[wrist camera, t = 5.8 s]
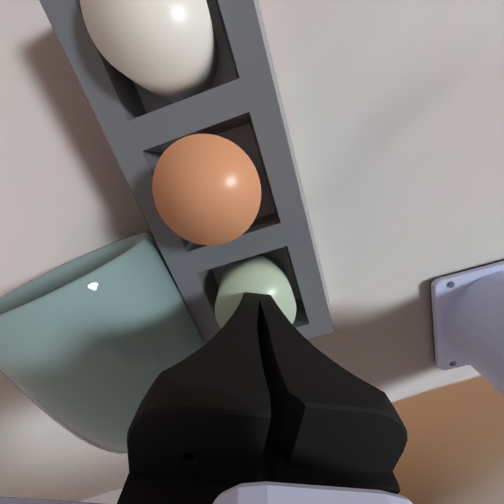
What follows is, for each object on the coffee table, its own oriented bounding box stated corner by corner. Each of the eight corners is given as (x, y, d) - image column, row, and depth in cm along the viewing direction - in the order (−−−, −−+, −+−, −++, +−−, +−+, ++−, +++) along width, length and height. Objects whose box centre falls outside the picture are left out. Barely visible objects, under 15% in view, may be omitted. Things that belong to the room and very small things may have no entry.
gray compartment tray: (236, -75, 10) (230, -187, 7) (327, 302, 17) (345, 335, 13) (65, 3, 11) (-11, -64, 8) (215, 332, 17) (207, 370, 14)
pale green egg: (277, 243, 13) (284, 264, 11) (294, 301, 15) (304, 333, 12) (212, 263, 14) (201, 287, 11) (234, 317, 15) (230, 352, 12)
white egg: (197, -27, 10) (175, -107, 7) (230, 85, 11) (223, 57, 8) (109, 12, 10) (52, -48, 7) (151, 115, 11) (118, 99, 8)
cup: (78, 508, 11) (-109, 359, 8) (136, 373, 19) (53, 266, 15) (229, 451, 11) (107, 272, 8) (228, 338, 18) (165, 220, 15)
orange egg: (244, 129, 11) (241, 116, 8) (268, 213, 12) (274, 228, 9) (163, 158, 11) (132, 155, 8) (195, 236, 12) (179, 257, 10)
